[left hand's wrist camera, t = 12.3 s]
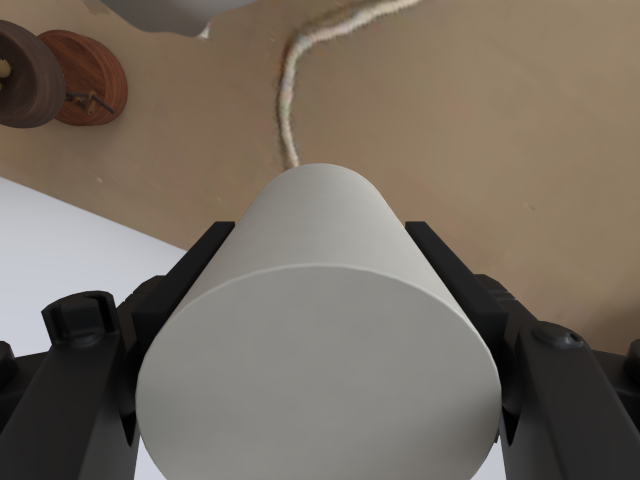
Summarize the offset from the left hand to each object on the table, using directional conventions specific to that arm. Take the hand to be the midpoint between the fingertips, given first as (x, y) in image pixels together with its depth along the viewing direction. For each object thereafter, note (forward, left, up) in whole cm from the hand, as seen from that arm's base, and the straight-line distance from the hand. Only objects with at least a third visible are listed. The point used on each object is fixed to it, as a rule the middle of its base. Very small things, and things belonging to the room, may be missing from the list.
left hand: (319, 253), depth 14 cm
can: (0, 0, -2) cm, 2 cm away
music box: (-29, -8, -35) cm, 47 cm away
